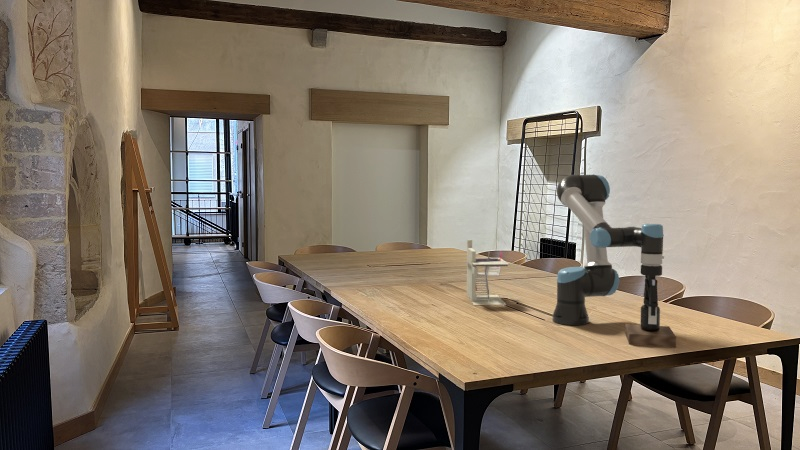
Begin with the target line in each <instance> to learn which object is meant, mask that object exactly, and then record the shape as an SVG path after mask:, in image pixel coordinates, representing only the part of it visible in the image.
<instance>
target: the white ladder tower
mask: <svg viewBox="0 0 800 450" xmlns="http://www.w3.org/2000/svg"><path fill="white" fill-rule="evenodd" d="M490 253H491V252H490V251H488V255H487V257H477V251H476V250H475V249H474V248H473V239H466V296H467V298H468V297H469V298H468V299H469V301H470V300H471V301H470V302H471V304H472V303H473V304H472V305H473V306H474V305H504V306H507V303H506V302H505V301H504V300H503V299H502V298H501V297H500V296H499V295H498V294H490V288H489V280H488V277H500V274H501V270H502V267H509V266H510V263H509V262H507V261H505V260H504V259H502V256H503V253H500V255H499V257H491V254H490ZM478 267H484V272H479V268H478ZM477 277H484V278H477Z"/></svg>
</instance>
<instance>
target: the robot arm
mask: <svg viewBox="0 0 800 450" xmlns="http://www.w3.org/2000/svg"><path fill="white" fill-rule="evenodd" d="M610 187H611V186H610V184H609V182H608V180H607V178H605V177H604V176H603V175H600V174H570V175H566V176H565V177H563V178H562V179H561V180H560V181H559V182H558V185H557V188H556V196H557V199H558V200H559V202H560V203H561V204H562V205H563V206H565V207H567V208H569V210H570V211H571V212H572V213H573V214H574V216H575V217H576V218H577V219H578V220H579V222H581V224H582V225H583V231H584V232H583V233H584V241H585V243H584V244H585V252H586V253H585V254H586V263H585V264H584V266H570V267H569V266H568V267H564V268H562V269H559V270H558V272H557V278H556V284H557V285H556V286H557V287H556V299H557V300H556V304H555V308H554V310H553V313H552V322H554V323H556V324H560V325H565V326H566V325H567V326H584V325H588V324H589V321H590V319H589V318H590V316H589V314H588V310H587V308H586V303H585V302H586V298H590V297H606V296H613V295H614V294H615V293H616V292H617V290H618V288H619V285H620V276H619V273H618V271H617V270H616V269H614V268H613V266H612V265H613V264H612V263H611V262H610V261H608V251H607V248H620V247H621V248H622V247H623V248H624V247H627V248H628V247H638V248H640V249H641V250H640V264H641V265H640V274H641V275H642V276H644V277H645V278H644V287H643V288H644V290H643V297H644V298H649V304H648V305H647V306H648V307H649V318H648V324H657V306H658V307H659V301H658V300H659V299H658V280H657V279H656V277H660V276H662V275H663V265H662V264H663V259H665V256H664V255H663V253H664V252H663V251H664V250H663V249H664V246H663V245H664V227H663V226H664V225H662V224H660V223H643V224H642V225H641V227H638V226H637V227H636V226H626V227H611V225H610V224H609V223H608V222H607V221H606V220H605V219H604V211H603V207H604V206H605V205H606V201H607V200H608V199H609V197H610V193H611V188H610ZM644 298H643V299H644Z"/></svg>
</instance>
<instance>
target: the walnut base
mask: <svg viewBox="0 0 800 450" xmlns="http://www.w3.org/2000/svg"><path fill="white" fill-rule="evenodd" d="M624 327H625V328H624V329H625V332H624V334H625V337H626V340H627V342H628V345H631V346H632V345H633V346H635V345H636V346H648V347H661V348H662V347H664V348H677V335H676V334H675V333H674V331H673V330H672V328H671V326H668V325H667V326H666V325H664V326H663V325H660V330H659V331H655V332H651V331H644V330H642V329H641V324H631V323H625V326H624Z"/></svg>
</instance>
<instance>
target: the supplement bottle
mask: <svg viewBox="0 0 800 450" xmlns="http://www.w3.org/2000/svg"><path fill="white" fill-rule="evenodd" d="M648 304H649V298H643V304H642V305H641V306H640V325H641V329H642V330H644V331H651V332H655V331H659V330H660V326H661V308H660V307H659V305H658V306H657V324H648V318H649V307H648V306H647V305H648Z"/></svg>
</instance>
